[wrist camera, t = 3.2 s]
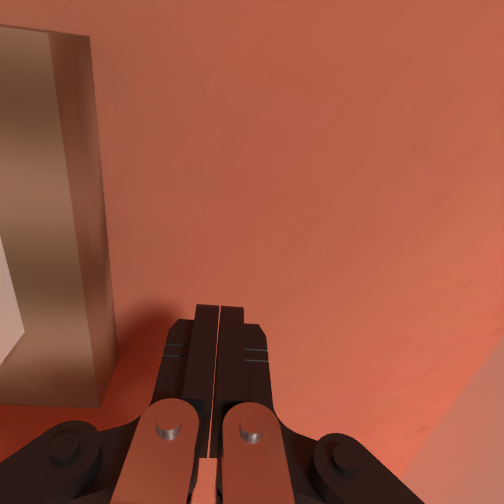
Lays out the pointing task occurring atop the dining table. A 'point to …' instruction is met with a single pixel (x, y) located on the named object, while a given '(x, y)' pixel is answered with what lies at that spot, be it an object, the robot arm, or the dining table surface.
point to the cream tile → (8, 310)
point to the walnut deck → (54, 222)
